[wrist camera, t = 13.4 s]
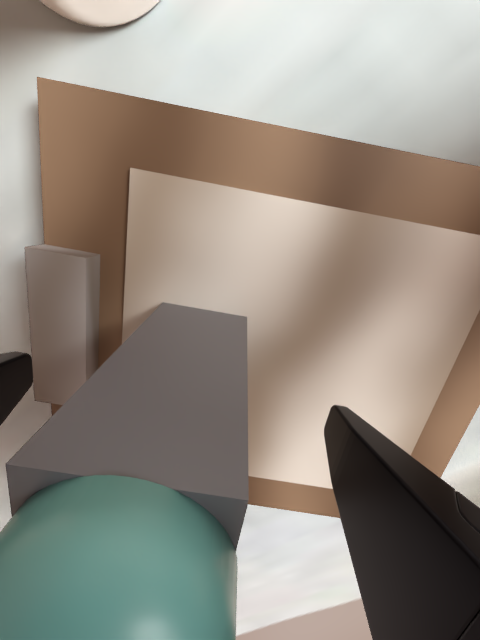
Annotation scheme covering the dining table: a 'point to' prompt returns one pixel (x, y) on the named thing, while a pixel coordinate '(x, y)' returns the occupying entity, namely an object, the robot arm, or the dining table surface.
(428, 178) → the wooden tray
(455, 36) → the dining table surface
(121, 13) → the metal tumbler
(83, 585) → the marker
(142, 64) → the dining table surface
